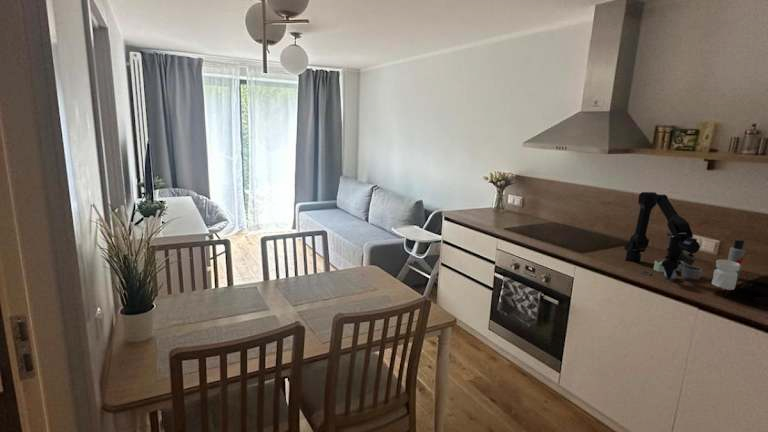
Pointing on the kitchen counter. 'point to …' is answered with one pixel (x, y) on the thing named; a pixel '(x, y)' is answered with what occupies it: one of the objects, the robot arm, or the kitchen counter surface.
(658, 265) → the tube left
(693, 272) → the tube right
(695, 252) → the robot arm
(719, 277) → the vase
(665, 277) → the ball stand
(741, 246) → the lotion bottle
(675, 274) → the ball slate
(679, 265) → the dot card
